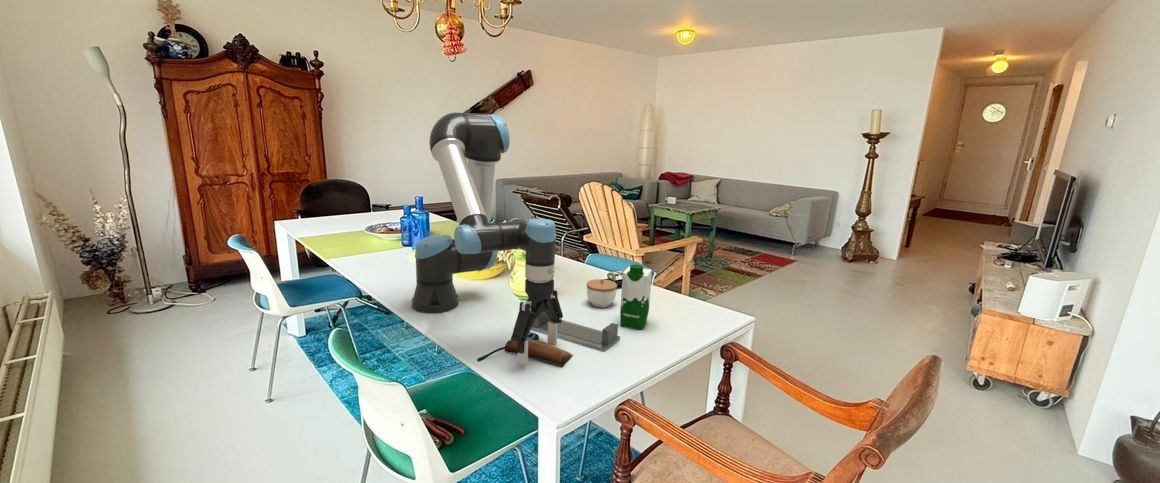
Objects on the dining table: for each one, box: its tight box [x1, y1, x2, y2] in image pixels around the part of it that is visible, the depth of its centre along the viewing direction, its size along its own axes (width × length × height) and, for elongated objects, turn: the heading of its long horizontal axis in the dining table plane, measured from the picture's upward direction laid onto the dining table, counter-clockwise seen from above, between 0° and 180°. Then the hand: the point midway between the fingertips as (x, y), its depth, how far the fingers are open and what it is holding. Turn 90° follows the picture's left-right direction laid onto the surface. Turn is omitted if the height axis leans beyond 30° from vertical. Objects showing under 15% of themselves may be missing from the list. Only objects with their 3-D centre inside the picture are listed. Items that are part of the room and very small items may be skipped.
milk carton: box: [619, 264, 652, 331], centre depth 152 cm, size 9×9×20 cm
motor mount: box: [530, 310, 621, 352], centre depth 145 cm, size 31×10×9 cm, turn 59°
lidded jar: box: [586, 278, 618, 309], centre depth 169 cm, size 11×11×9 cm
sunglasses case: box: [504, 338, 575, 367], centre depth 131 cm, size 18×7×7 cm
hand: (538, 353), depth 130 cm, fingers open, 13 cm apart
